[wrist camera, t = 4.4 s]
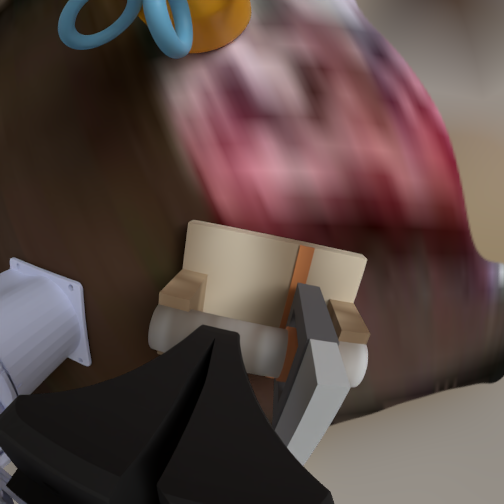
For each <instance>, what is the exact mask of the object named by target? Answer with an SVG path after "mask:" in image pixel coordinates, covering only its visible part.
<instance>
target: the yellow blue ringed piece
mask: <svg viewBox="0 0 504 504" xmlns="http://www.w3.org/2000/svg"><path fill="white" fill-rule="evenodd" d="M87 1H88V0H69V1H68V2H67V4H66V5H65V7H64V9H63V11H62V13H61V15H60V18H59V23H58V32H59V36H60V38H61V40H62V42H63V43H64V44H65V45H67V46H68V47H70V48H73V49H78V50H85V49H91V48H95V47H98V46H101V45H103V44H105V43H107V42H109V41H111V40H112V39H114V38H116V37H117V36H118V35H120V34H121V33H122V32H123V31H124V30H125V29H127V28H128V26H129V25H130V24H131V23H132V22H133V21H134V19H135V18H136V17H137V15H138V16H139V18H140V19H141V20H142V21H143V22H144V23H145V24H146V25H147V26H148V28H149V30H150V33H151V35H152V37H153V39H154V41H155V43H156V44H157V46H158V47H159V48H160V50H161V51H162V52H163V53H164V54H165V55H167V56H168V57H171V58H174V59H179V58H182V57H184V56H186V55H187V54H188V53H202V52H208V51H212V50H216V49H218V48H220V47H223V46H225V45H227V44H228V43H230V42H232V41H233V40H235V39H236V38H237V37H238V36H239V35H240V34H241V33H242V32H243V31H244V30H245V28H246V27H247V25H248V23H249V21H250V18H251V4H250V0H127V5H126V8H125V10H124V12H123V13H122V15H121V16H120V17H119V18H118V19H117V21H115V22H114V23H113V24H112V25H111V26H109V27H108V28H106V29H105V30H103V31H101V32H99V33H96V34H93V35H82V34H80V33H78V32H77V31H76V29H75V19H76V16H77V14H78V12H79V11H80V9H81V8H82V6H83V5H84V4H85V3H86V2H87Z"/></svg>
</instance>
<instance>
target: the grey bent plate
mask: <svg viewBox="0 0 504 504" xmlns="http://www.w3.org/2000/svg"><path fill="white" fill-rule="evenodd" d="M287 326H289V327H295V328H296V330H297V339H298V348H297V351H296V354H295V357H294V360H293V363H292V366H291V368H290V371H289V374H288V377H287V380H286V382H279V381H276V378H274V400H273V423H272V427H273V429H274V430H275V432H276V433H277V434H278V436H279V437H280V438H281V440H282V441H283V443H284V444H285V445H286V447H287V448H288V449H289V451H290V452H291V453H292V454H293V455H294V456H295V458H296V459H297V460H298V461H299V462H300V463H301V464H302V465H304V464H305V462H306V461H307V460H308V458H309V457H310V455H311V454H312V452H313V451H314V449H315V448H316V446H317V445H318V443H319V441H320V440H321V438H322V437H323V435H324V433H325V432H326V430H327V429H328V427H329V425H330V424H331V422H332V420H333V418H334V417H335V415H336V413H337V411H338V410H339V408H340V406H341V404H342V403H343V401H344V399H345V397H346V395H347V393H348V391H349V389H350V388H351V387H350V384H349V380H348V377H347V374H346V370H345V367H344V364H343V361H342V358H341V354H340V351H339V348H338V346H339V340H338V337H337V334H336V332H335V329H334V326H333V323H332V320H331V317H330V314H329V311H328V309H327V306H326V303H325V300H324V297H323V295H322V292H321V289H320V287H318V286H313V285H308V284H303V283H297V287H296V291H295V294H294V298H293V302H292V305H291V309H290V313H289V316H288V320H287V324H286V327H287ZM286 327H285V329H286Z"/></svg>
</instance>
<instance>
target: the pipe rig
mask: <svg viewBox="0 0 504 504" xmlns="http://www.w3.org/2000/svg"><path fill="white" fill-rule="evenodd" d="M366 262H367V259H366V258H365V257H364V256H363V255H362V254H358V253H353V252H349V251H344V250H340V249H335V248H330V247H326V246H321V245H317V244H312V243H307V242H302V241H298V240H293V239H288V238H283V237H279V236H274V235H269V234H264V233H259V232H254V231H249V230H244V229H239V228H234V227H229V226H224V225H219V224H213V223H208V222H203V221H198V220H192V221H190V222H188V229H187V237H186V245H185V253H184V261H183V269H182V270H181V271H180V272H179V273H178V274H177V275H176V276H175V277H174V278H173V279H172V280H171V281H170V282H169V283H168V284H167V285H166V286H165V287H164V288H163V289H162V290H161V291H160V292H159V304H158V305H157V307H156V309H155V311H154V313H153V315H152V318H151V322H150V326H149V333H148V342H149V346H150V348H152V349H155V350H157V354H160V355H161V354H163V353H165V352H166V351H168V350H169V349H171V348H172V347H173V346H175V345H176V344H178V343H179V342H180V341H182V340H183V339H184V338H186V337H187V336H188V335H189V334H191V333H192V332H193V331H194V330H196V329H197V328H198V327H199V326H201V325H203V324H204V325H208V326H212V327H216V328H221V329H225V330H230V331H234V332H238V333H239V335H240V347H241V353H242V358H243V362H244V365H245V369H246V372H247V373H251V374H256V375H262V376H265V377H269V378H276V381H279V382H286V380H287V377H288V374H289V371H290V368H291V366H292V363H293V360H294V357H295V354H296V351H297V348H298V339H297V330H296V328H295V327H289V326H287V327H286V324H287V320H288V316H289V313H290V309H291V305H292V302H293V298H294V294H295V291H296V287H297V283H303V284H308V285H313V286H318V287H320V289H321V292H322V295H323V297H324V300H325V303H326V306H327V309H328V311H329V314H330V317H331V320H332V323H333V326H334V329H335V332H336V334H337V337H338V340H339V346H338V348H339V351H340V354H341V358H342V361H343V364H344V367H345V370H346V374H347V377H348V380H349V384H350V387H356V386H358V385H359V384H360V382H361V381H362V379H363V377H364V375H365V372H366V368H367V363H368V350H367V346H366V343H367V341H368V339H369V336H370V333H369V331H368V329H367V327H366V325H365V323H364V321H363V320H362V318H361V316H360V314H359V312H358V311H357V309H356V307H355V305H354V300H355V297H356V294H357V291H358V288H359V285H360V282H361V278H362V275H363V272H364V269H365V265H366ZM285 327H286V329H285Z"/></svg>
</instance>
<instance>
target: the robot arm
mask: <svg viewBox="0 0 504 504" xmlns="http://www.w3.org/2000/svg"><path fill="white" fill-rule="evenodd" d="M10 268H11V269H9V270H7V271H4V272H2V273H0V504H14V502H13V500H12V498H13V499H14V500H15V501H16V502H17V503H19V504H334V501H333V498H332V495H331V492H330V491H329V490H328V489H327V488H326V487H324V486H323V485H322V484H321V483H320V482H319V481H318V480H317V479H315V478H314V477H313V476H312V475H311V474H310V473H309V472H308V471H307V470H306V469H305V468H304V467H303V465H302V464H301V463H300V462H299V461H298V460H297V459H296V458H295V456H294V455H293V454H292V453H291V452H290V451H289V449H288V448H287V447H286V445H285V444H284V443H283V441H282V440H281V438H280V437H279V436H278V434H277V433H276V432H275V430H274V429H273V427H272V426H271V424H270V422H269V421H268V419H267V417H266V416H265V414H264V412H263V410H262V408H261V406H260V404H259V402H258V400H257V398H256V396H255V394H254V391H253V389H252V386H251V384H250V381H249V378H248V375H247V372H246V369H245V365H244V362H243V358H242V353H241V347H240V335H239V333H238V332H234V331H230V330H225V329H221V328H216V327H212V326H208V325H204V324H203V325H201V326H199V327H198V328H197V329H196V330H194V331H193V332H192V333H191V334H189V335H188V336H187V337H186V338H184V339H183V340H182V341H180V342H179V343H178V344H176V345H175V346H173V347H172V348H171V349H169V350H168V351H166V352H165V353H163V354H161V355H160V356H158V357H156V358H155V359H153V360H151V361H150V362H148V363H146V364H144V365H143V366H141V367H139V368H137V369H135V370H133V371H130V372H128V373H126V374H124V375H121V376H119V377H116V378H113V379H110V380H107V381H104V382H101V383H98V384H95V385H91V386H87V387H83V388H79V389H74V390H69V391H63V392H56V393H45V394H31V393H32V392H33V391H34V390H35V389H36V388H37V387H38V386H39V385H40V384H41V383H42V382H43V381H44V380H45V379H46V378H47V377H48V376H49V375H50V374H51V373H52V372H53V371H54V370H55V369H56V368H57V367H58V366H59V365H60V364H61V363H62V362H63V361H64V360H65V359H66V358H67V357H68V358H70V359H72V360H74V361H77V362H79V363H81V364H83V365H85V366H90V365H91V363H92V362H91V356H90V350H89V343H88V336H87V328H86V319H85V309H84V297H83V287H82V285H81V284H80V283H79V282H77V281H74V280H71V279H69V278H66V277H63V276H60V275H58V274H55V273H52V272H50V271H47V270H44V269H42V268H39V267H37V266H34V265H32V264H29V263H27V262H24V261H22V260H19V259H17V258H15V257H13V258H11V259H10ZM71 285H72V286H73V288H72V286H71ZM11 461H12V462H13V463H14V465H15V466H16V467H17V468H18V469H17V470H16V472H15V473H14V474H13V476H11V475H9V474H8V473H7V472H6V471H5V470H4V469H3V468H4V467H5V466H6V465H8V464H9V463H10V462H11Z"/></svg>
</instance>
